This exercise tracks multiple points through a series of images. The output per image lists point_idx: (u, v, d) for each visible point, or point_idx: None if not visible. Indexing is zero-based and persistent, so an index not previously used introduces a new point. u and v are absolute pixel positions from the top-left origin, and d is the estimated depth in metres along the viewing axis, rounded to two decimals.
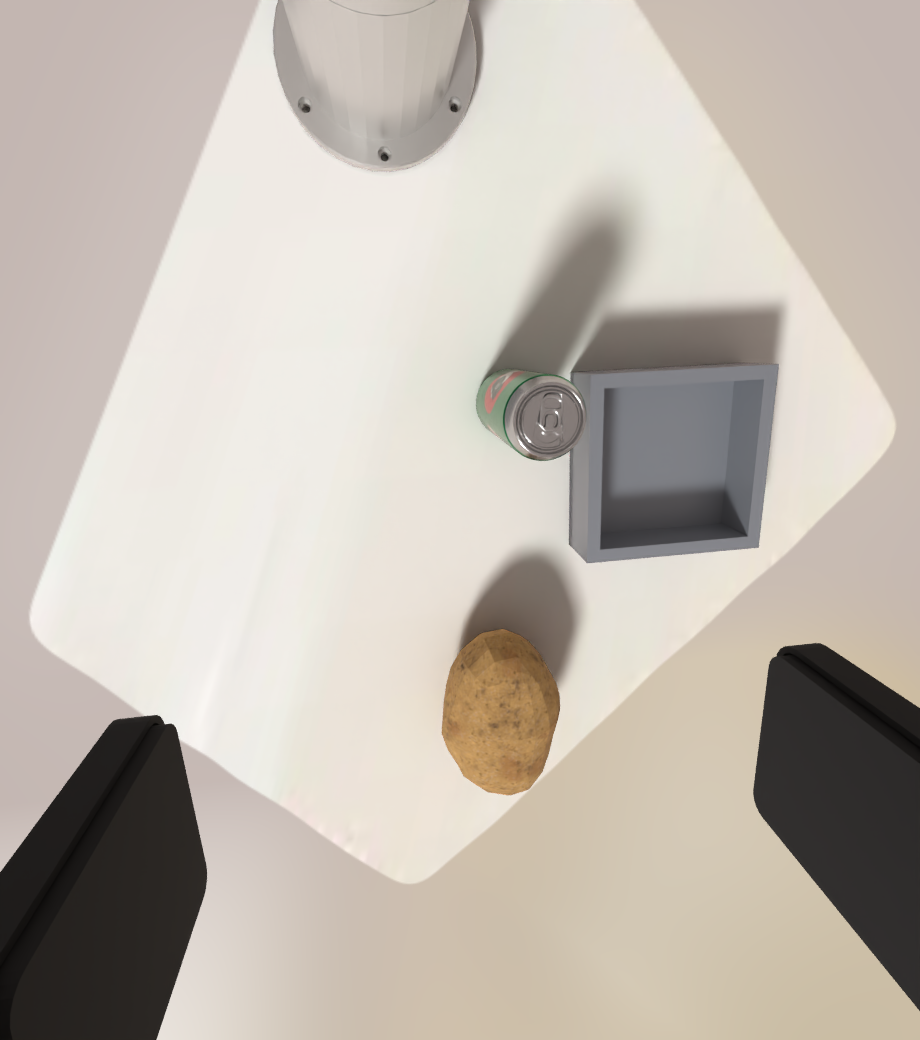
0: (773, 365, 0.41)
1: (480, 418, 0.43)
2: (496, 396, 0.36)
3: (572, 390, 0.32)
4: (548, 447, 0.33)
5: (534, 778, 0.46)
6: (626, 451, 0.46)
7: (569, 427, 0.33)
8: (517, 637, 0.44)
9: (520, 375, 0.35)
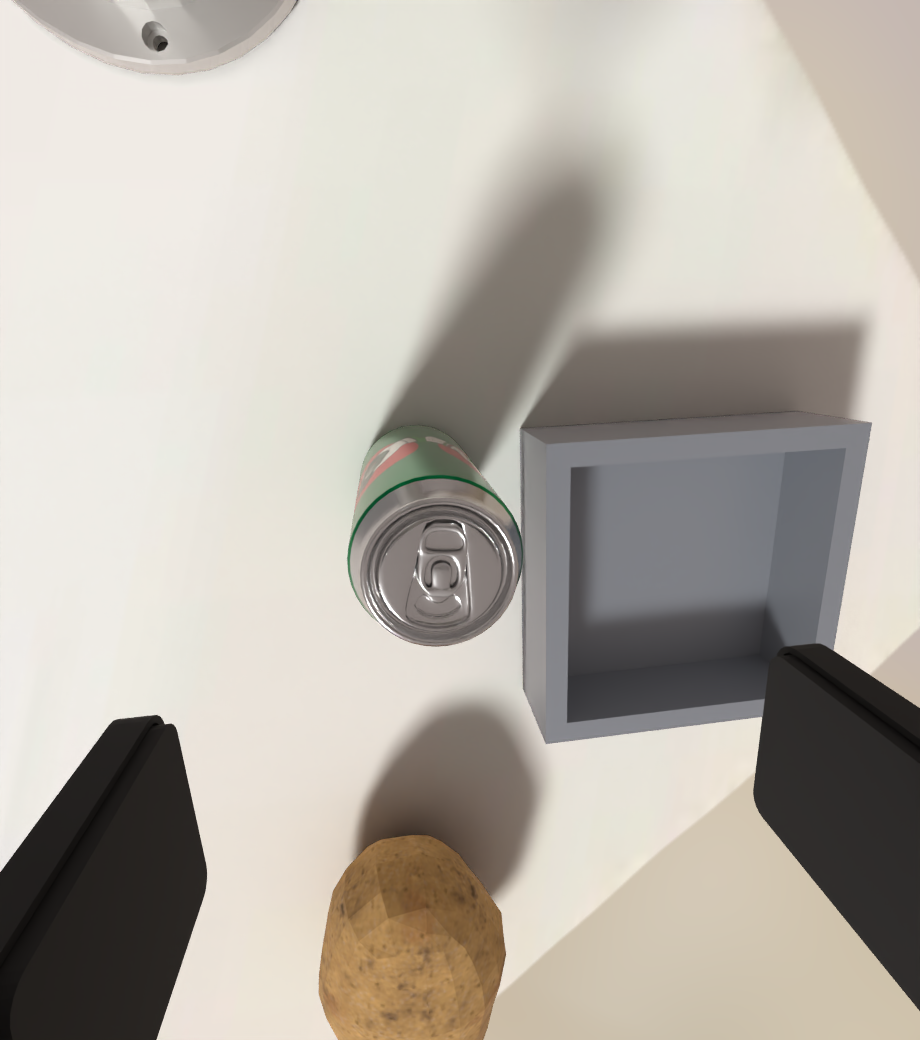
0: (863, 425, 0.24)
1: None
2: (358, 499, 0.19)
3: (486, 514, 0.15)
4: (439, 628, 0.16)
5: None
6: (611, 552, 0.28)
7: (482, 587, 0.16)
8: (432, 861, 0.27)
9: (399, 462, 0.18)
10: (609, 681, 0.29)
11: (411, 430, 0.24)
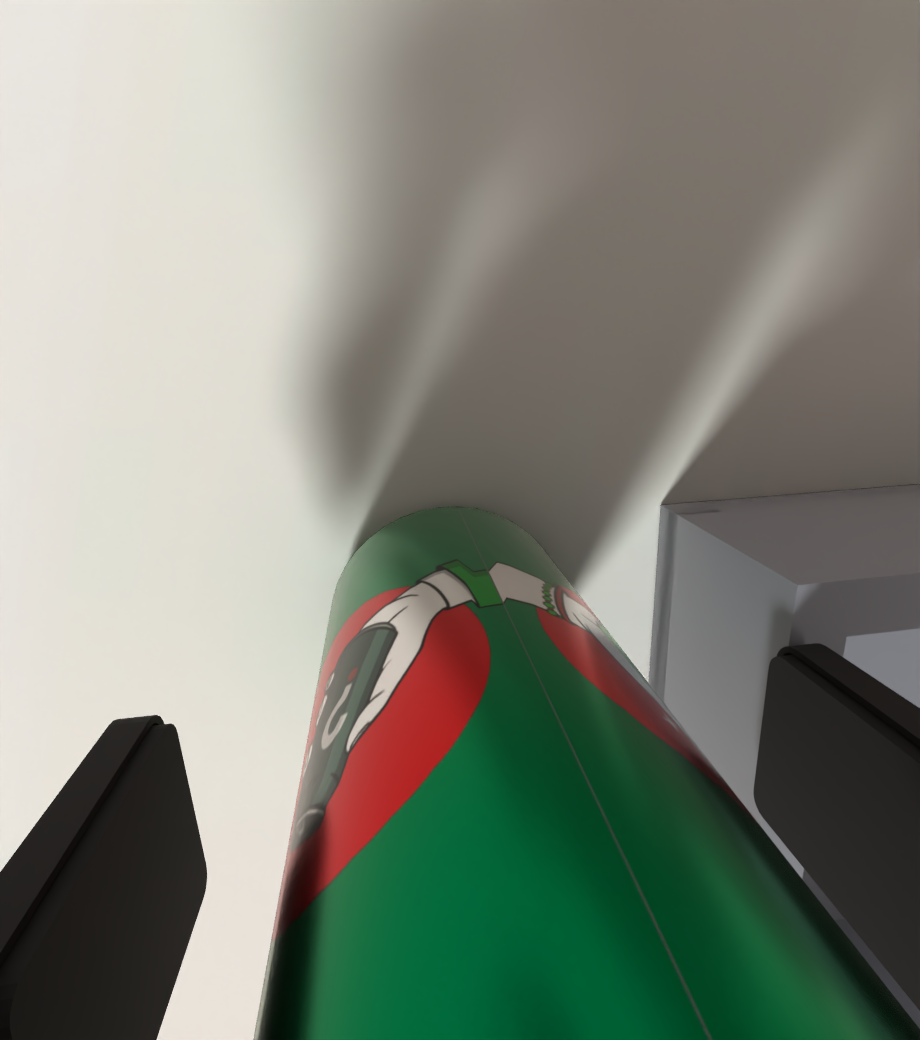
0: None
1: None
2: (289, 876, 0.05)
3: None
4: None
5: None
6: None
7: None
8: None
9: (443, 798, 0.04)
10: None
11: (445, 531, 0.10)
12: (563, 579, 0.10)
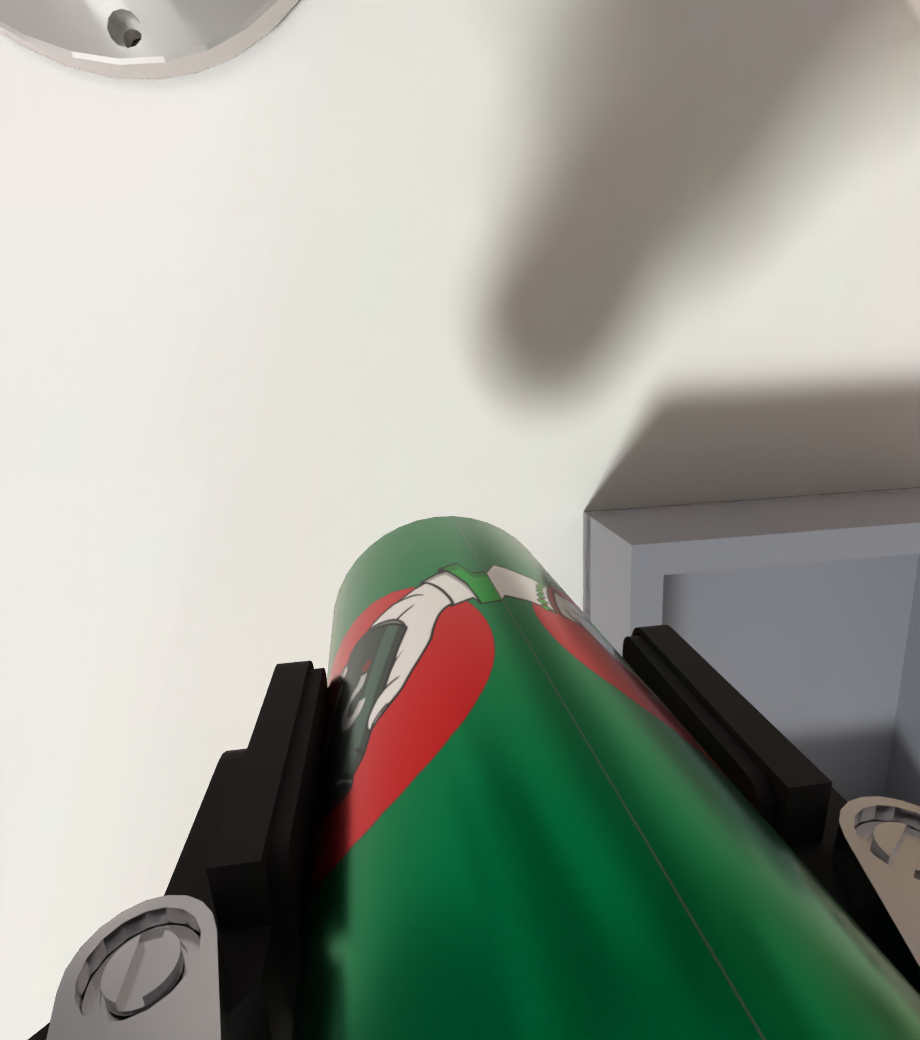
0: None
1: None
2: (321, 838, 0.06)
3: None
4: None
5: None
6: None
7: None
8: None
9: (462, 757, 0.05)
10: None
11: (443, 538, 0.11)
12: (553, 581, 0.11)
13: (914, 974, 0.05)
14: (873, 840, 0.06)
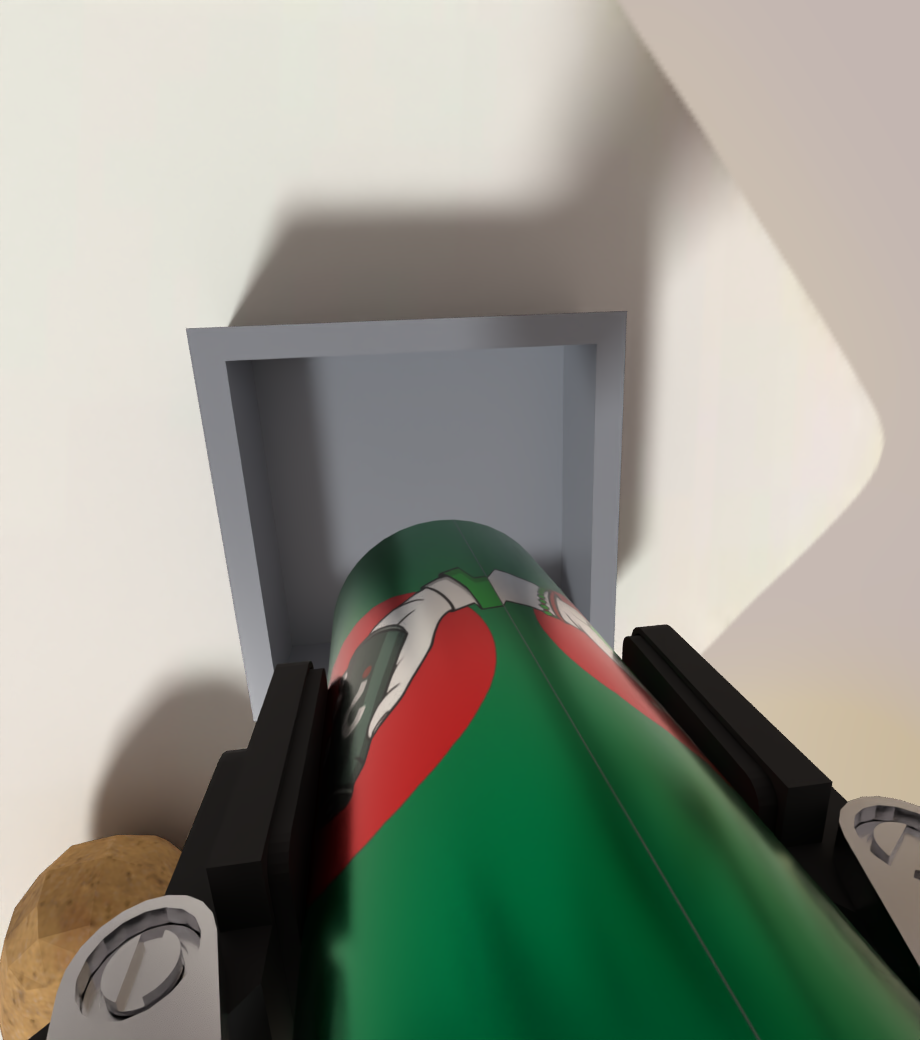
0: (615, 313, 0.19)
1: None
2: (321, 849, 0.06)
3: None
4: None
5: None
6: (355, 489, 0.23)
7: None
8: (120, 867, 0.22)
9: (464, 767, 0.05)
10: None
11: (444, 542, 0.11)
12: (554, 585, 0.10)
13: (915, 974, 0.05)
14: (873, 840, 0.06)
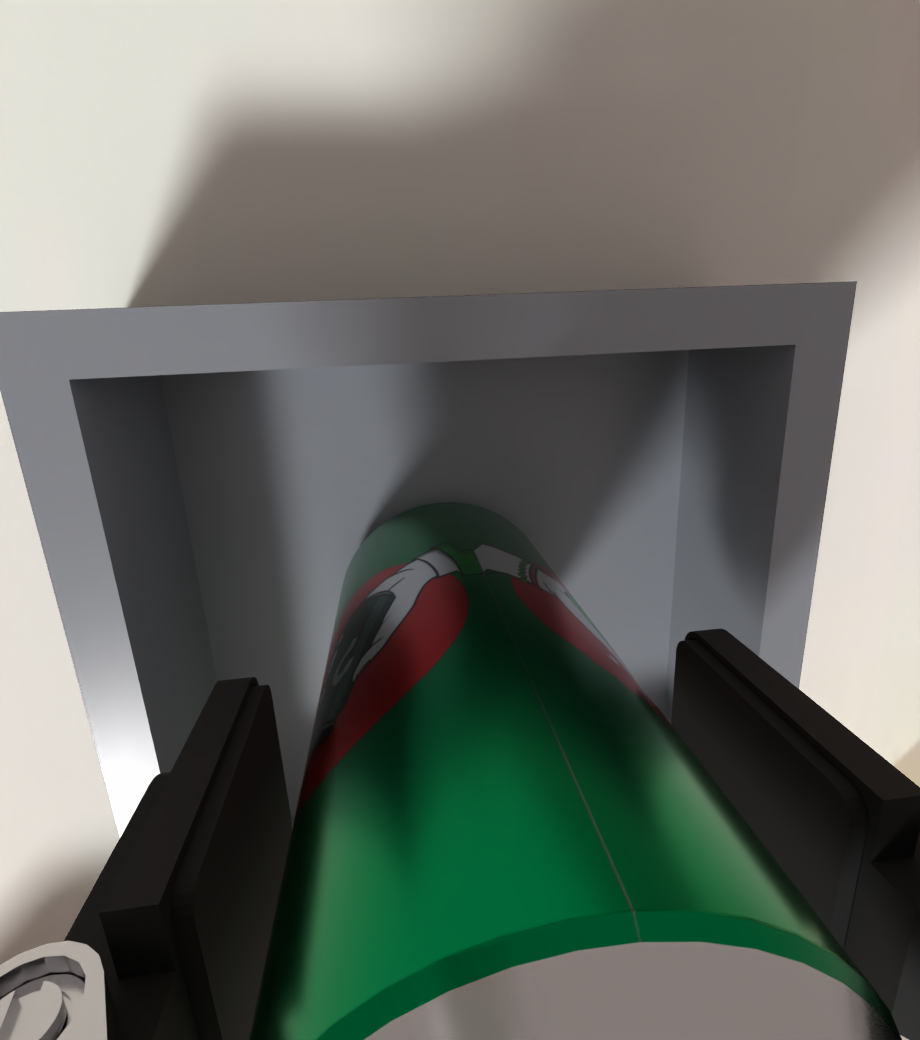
0: (834, 286, 0.10)
1: None
2: (308, 773, 0.07)
3: None
4: None
5: None
6: None
7: None
8: None
9: (424, 697, 0.06)
10: None
11: (440, 521, 0.12)
12: (541, 561, 0.11)
13: None
14: None
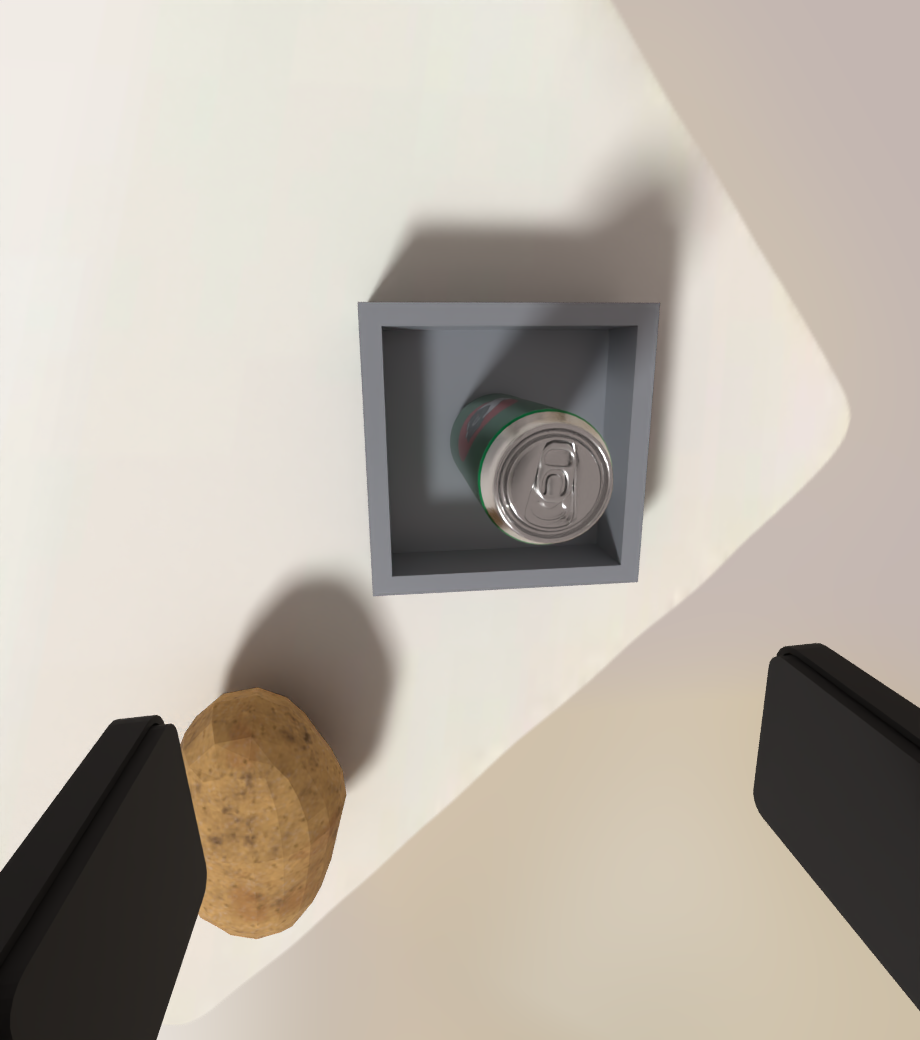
0: (651, 304, 0.27)
1: None
2: (472, 438, 0.24)
3: (592, 437, 0.20)
4: (549, 528, 0.20)
5: (292, 915, 0.30)
6: (448, 432, 0.31)
7: (584, 496, 0.20)
8: (267, 704, 0.29)
9: (509, 407, 0.23)
10: (448, 555, 0.32)
11: (499, 394, 0.29)
12: None
13: None
14: None
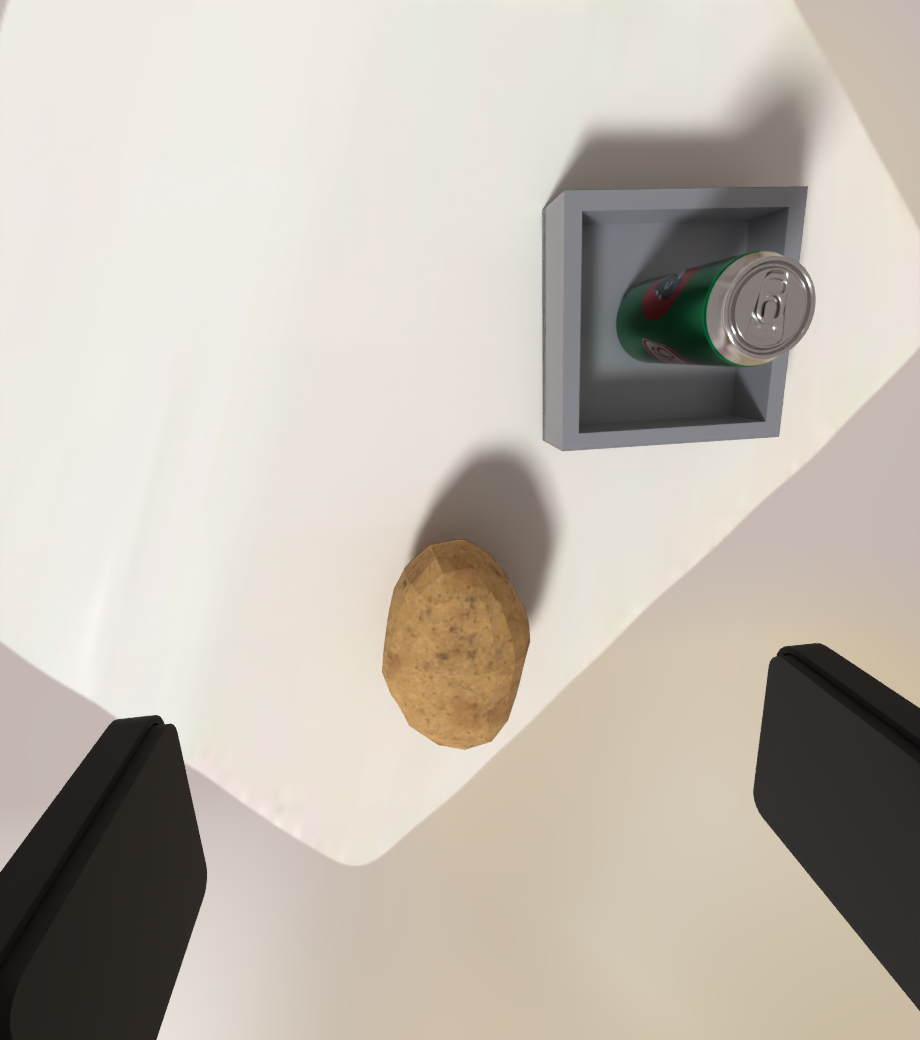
0: (801, 187, 0.32)
1: (623, 338, 0.35)
2: (675, 292, 0.29)
3: (802, 268, 0.25)
4: (764, 346, 0.26)
5: (496, 727, 0.36)
6: (612, 316, 0.36)
7: (793, 318, 0.26)
8: (474, 546, 0.35)
9: (710, 263, 0.28)
10: (611, 424, 0.37)
11: None
12: None
13: None
14: None
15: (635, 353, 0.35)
